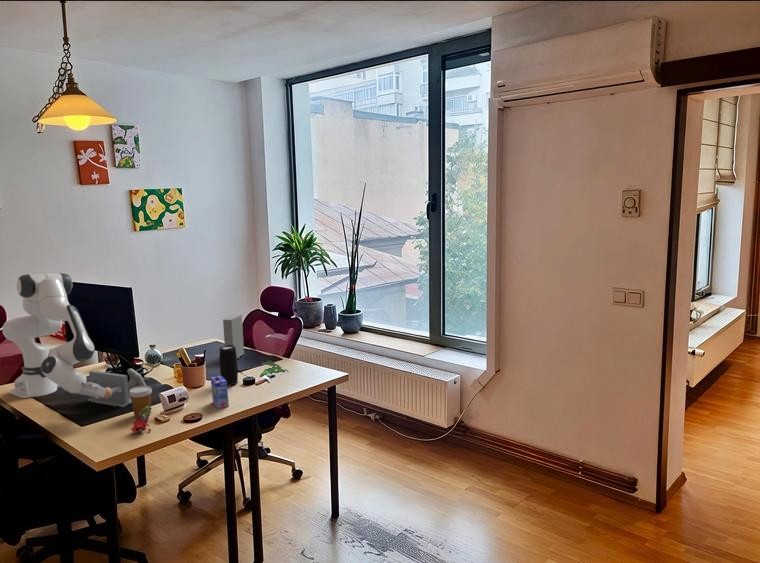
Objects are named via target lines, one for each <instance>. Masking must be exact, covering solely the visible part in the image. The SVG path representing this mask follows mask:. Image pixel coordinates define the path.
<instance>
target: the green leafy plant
mask: <svg viewBox="0 0 760 563" xmlns="http://www.w3.org/2000/svg"><path fill="white" fill-rule="evenodd" d="M266 361H267V362H263V361H262V362H263V363H261V364H263V365H266V364H267V365H270V366H273V367H272V368H268V369H265V370H264V371H263V373H261V375H260V377H262V376H264V375H267V374H272V373H279V372H283V373H284V372H285V371H286V370H287V369H286V368H284V369H285V370H283V369H281V367H282V366H280V365H279V364H276V363H275V362H274V361H273V360H266ZM275 366H277V367H275ZM276 369H277V371H275V370H276ZM287 371H289V370H287Z"/></svg>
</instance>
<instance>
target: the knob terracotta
mask: <svg viewBox="0 0 760 563" xmlns="http://www.w3.org/2000/svg"><path fill="white" fill-rule="evenodd" d="M104 389H106V394H105V395H104V397H103V398H104V399H106V398H109V397H111V396H112V393H114V392H117V391H119V390H121V385H119V386H116V387H114V388H111V389H110V388H109V387H106V388H104Z"/></svg>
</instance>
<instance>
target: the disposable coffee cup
mask: <svg viewBox="0 0 760 563" xmlns="http://www.w3.org/2000/svg"><path fill="white" fill-rule="evenodd" d="M152 392H153V389H152V387H151V386H148V385H146V386H139V387H135V388H132V389H131V390H130V392H129V397H130V398H131V402H132V404H131V406H132V411H133V414H134V418H135V419H136V418H137V417H138V416H139V413H140V411H141V410H142V409H143V408H144V407H146V406H150V407H151V404H152ZM151 408H152V407H151Z"/></svg>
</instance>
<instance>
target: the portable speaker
mask: <svg viewBox="0 0 760 563" xmlns="http://www.w3.org/2000/svg"><path fill="white" fill-rule="evenodd" d="M218 361H219V374H220V376H222V377H223V378H224V379H225V380H226V382H227V387H230V386H231V385H237V384H239V383H238V382H239V381H238V378H239V377H238V376H239V373H238V372H239V371H238V366H239V365H238V360H237V354H236V348H235V346H234V345H226V346H225V345H223V346H219V360H218Z"/></svg>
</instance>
